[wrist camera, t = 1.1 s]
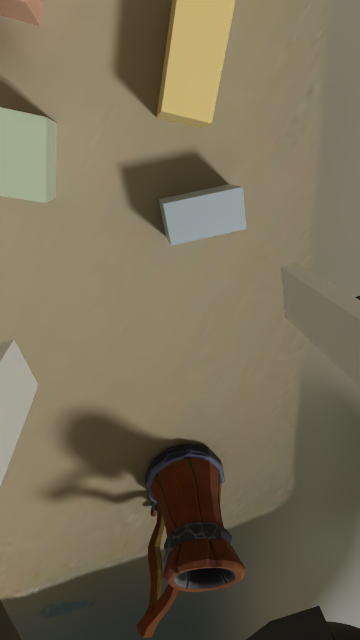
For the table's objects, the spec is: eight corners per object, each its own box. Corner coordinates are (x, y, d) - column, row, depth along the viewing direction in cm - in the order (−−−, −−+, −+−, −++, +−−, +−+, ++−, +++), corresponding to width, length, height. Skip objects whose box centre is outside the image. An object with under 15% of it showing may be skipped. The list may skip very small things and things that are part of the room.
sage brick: (55, 197, 30) (45, 203, 26) (13, 191, 29) (-4, 195, 25) (57, 123, 28) (46, 117, 24) (10, 113, 27) (-8, 105, 23)
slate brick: (165, 236, 33) (171, 245, 29) (158, 199, 31) (162, 204, 28) (232, 221, 33) (246, 228, 30) (228, 184, 32) (242, 186, 28)
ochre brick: (200, 128, 29) (211, 123, 26) (156, 117, 29) (161, 111, 25) (221, 14, 26) (237, -10, 22) (172, -1, 25) (180, -29, 22)
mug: (168, 529, 53) (183, 652, 40) (106, 511, 49) (99, 641, 36) (237, 457, 48) (280, 569, 35) (174, 430, 44) (195, 546, 31)
